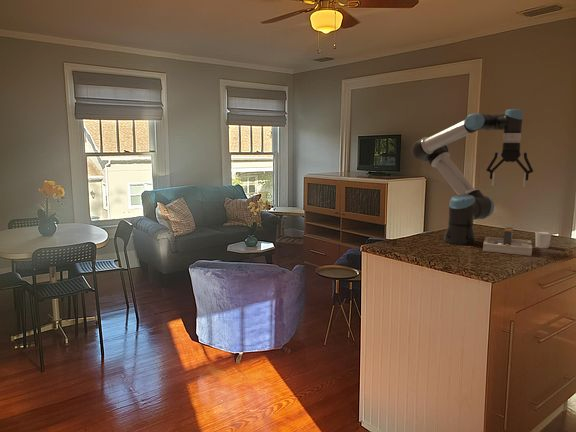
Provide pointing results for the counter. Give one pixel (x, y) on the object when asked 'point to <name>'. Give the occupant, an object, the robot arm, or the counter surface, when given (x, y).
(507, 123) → the robot arm
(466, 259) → the counter surface
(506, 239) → the dial
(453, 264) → the counter surface
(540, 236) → the shot glass
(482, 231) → the counter surface
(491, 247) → the housing
